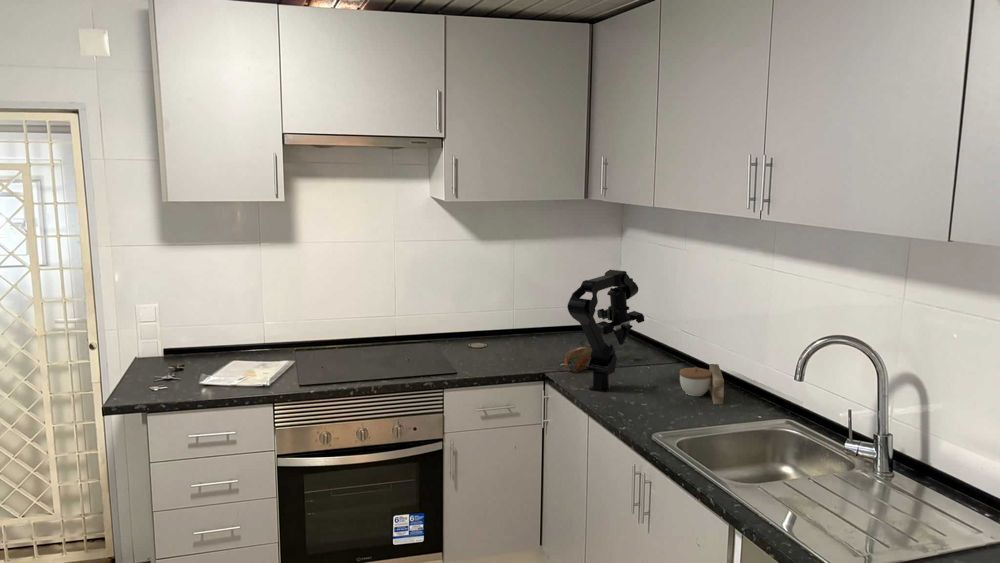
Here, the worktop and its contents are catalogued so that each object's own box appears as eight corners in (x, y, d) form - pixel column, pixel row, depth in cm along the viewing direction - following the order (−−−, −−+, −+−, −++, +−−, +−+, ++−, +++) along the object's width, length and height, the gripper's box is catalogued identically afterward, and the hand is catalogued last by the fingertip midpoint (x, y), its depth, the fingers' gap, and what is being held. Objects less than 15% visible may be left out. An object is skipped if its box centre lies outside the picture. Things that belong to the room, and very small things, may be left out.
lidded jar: (716, 397, 250) (717, 370, 249) (685, 399, 249) (686, 372, 247) (703, 388, 261) (704, 362, 259) (674, 389, 260) (675, 363, 258)
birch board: (713, 403, 244) (714, 380, 243) (708, 385, 264) (709, 363, 262) (723, 404, 244) (724, 380, 242) (717, 386, 263) (718, 364, 262)
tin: (568, 373, 279) (568, 352, 278) (562, 372, 282) (562, 350, 280) (596, 366, 289) (596, 345, 287) (590, 365, 291) (590, 344, 290)
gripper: (624, 292, 277) (626, 331, 281) (584, 305, 268) (587, 345, 273) (644, 299, 268) (646, 339, 272) (603, 312, 259) (606, 354, 263)
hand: (621, 344), depth 270 cm, fingers closed
